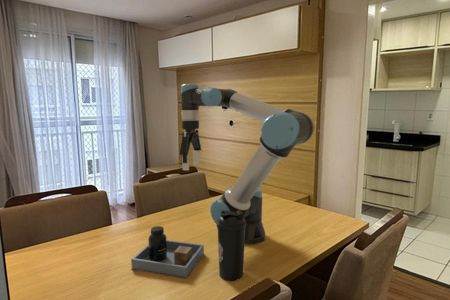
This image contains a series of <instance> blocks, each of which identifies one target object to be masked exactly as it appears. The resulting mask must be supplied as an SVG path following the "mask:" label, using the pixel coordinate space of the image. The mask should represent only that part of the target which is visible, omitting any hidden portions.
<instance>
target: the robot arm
mask: <svg viewBox="0 0 450 300" xmlns="http://www.w3.org/2000/svg"><path fill="white" fill-rule="evenodd" d="M180 99H181V103H180V105H181V112H180V115H181V119H182V120H181V129H182V130H185V131H182V133H181V134H182V136H181V143H180V151H179V156H181V158H182V161H181V162H182V163H181V165H182V171H190V155H189V151H190V147H191V145H192V148H193V151H192V156H193V157H192V158H193V161H192V162H193V165H200V151H202V146H201V140H200V136H199V128H200V121H199V119H200V109H199V107H210V108H211V107H226V108H228V109H230V110H232V111H233V110H234V111H235V112H237V113H240V114H242V115H245V116H247V117H250V118H252V119H254V120H257V121H260V122H262V126H261V129H260V132H261V135H260V137H259V144H260V145H259V147H258V148H257V149H256V150H255V152H254V154H253V155H252V157H251V158H250V160H249V161H248V163H247V164H246V166H245V167H244V169H243V170H242V172H241V173H240V175H239V177H238V178H237V179H236V181H235V182H234V184H233V185H232V186H231V187H228V188H226V189H225V190H224V192H223V194H222V195H221V197H220V198H219V199H217V198H216V199H215V200H214V201H213V202H212V203H211V205H210V208H209V209H210V210H209V211H210V212H209V213H210V216H211V218H212V221H213V222H214V223H215V224H216V225H217V220H218V218H219V217H220V216H221V215H220V211H222V210H226V211H231V212H237V211H238V210H240V211H241V212H242V214H243V217H244V219H245V220H246V228H245V241H244V245H252V246H253V245H257V244H261V243H263V242H264V241H266V231H265V228H264V225H263V221H262V219H263V218H262V217H263V215H262V214H263V191H262V190H261V189H260V188H261V186H262V184H264V182H265V180H266V179H267V177H269V175H270V174H271V172H272V171H273V169H274V168H275V166H277V164H278V162H279V161H280V160H281V159H285V158H287V157H289V156H290V153H291V152H292V151H293V149H294V148H295V147H296V146H298V145H302V144H304V143H307V142H308V141H309V140H310V139H311V138H312V136H313V134H314V132H315V125H314V122H313V120H312V118H311V117H310V116H309V115H308V114H306V113H305V112H301V111H297V110H294V109H291V108H287V109H283V108H280V107H277V106H274V105H271V103H270V104H269V103H266V102H264V101H261V100H258V99H255V98H253V97H250V96H247V95H244V94H241V93H239V92H237V90H235V89H230V88H217V87H210V86H208V87H202V88H199V85H198V84H197V83H183V84H182V85H181V87H180Z"/></svg>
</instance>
